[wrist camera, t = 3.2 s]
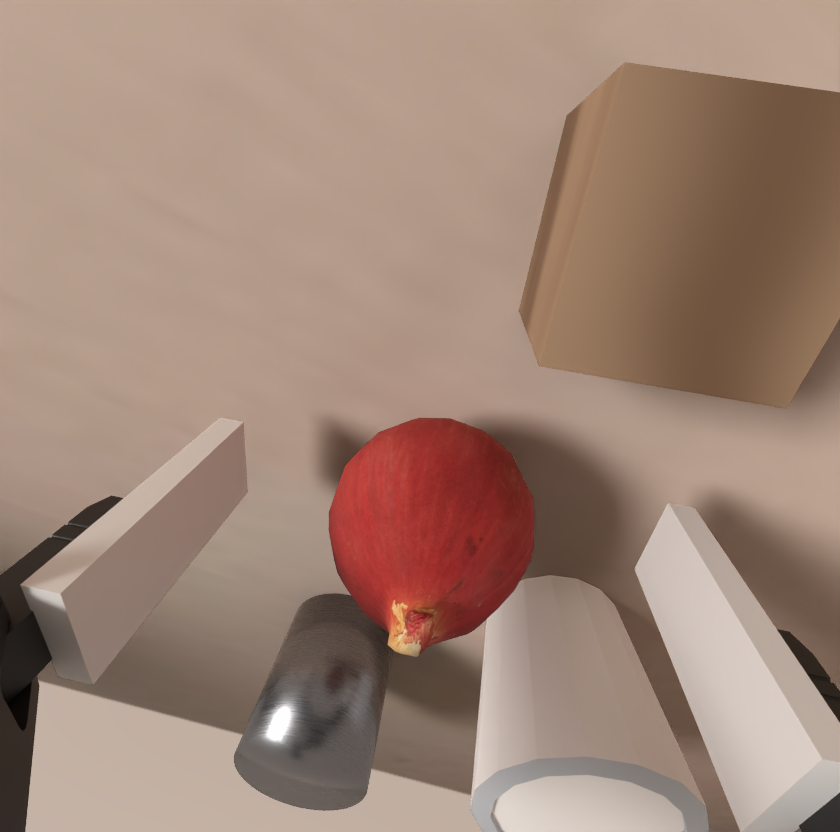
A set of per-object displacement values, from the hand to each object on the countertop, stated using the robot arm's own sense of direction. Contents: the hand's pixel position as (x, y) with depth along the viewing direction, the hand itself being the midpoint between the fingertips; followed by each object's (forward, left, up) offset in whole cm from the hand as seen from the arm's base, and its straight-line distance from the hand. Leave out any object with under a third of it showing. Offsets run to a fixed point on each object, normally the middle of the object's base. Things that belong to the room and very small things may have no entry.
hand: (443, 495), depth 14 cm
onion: (0, 0, -3) cm, 3 cm away
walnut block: (+4, +8, -3) cm, 9 cm away
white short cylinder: (+6, -8, -3) cm, 10 cm away
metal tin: (-3, -11, -3) cm, 12 cm away
